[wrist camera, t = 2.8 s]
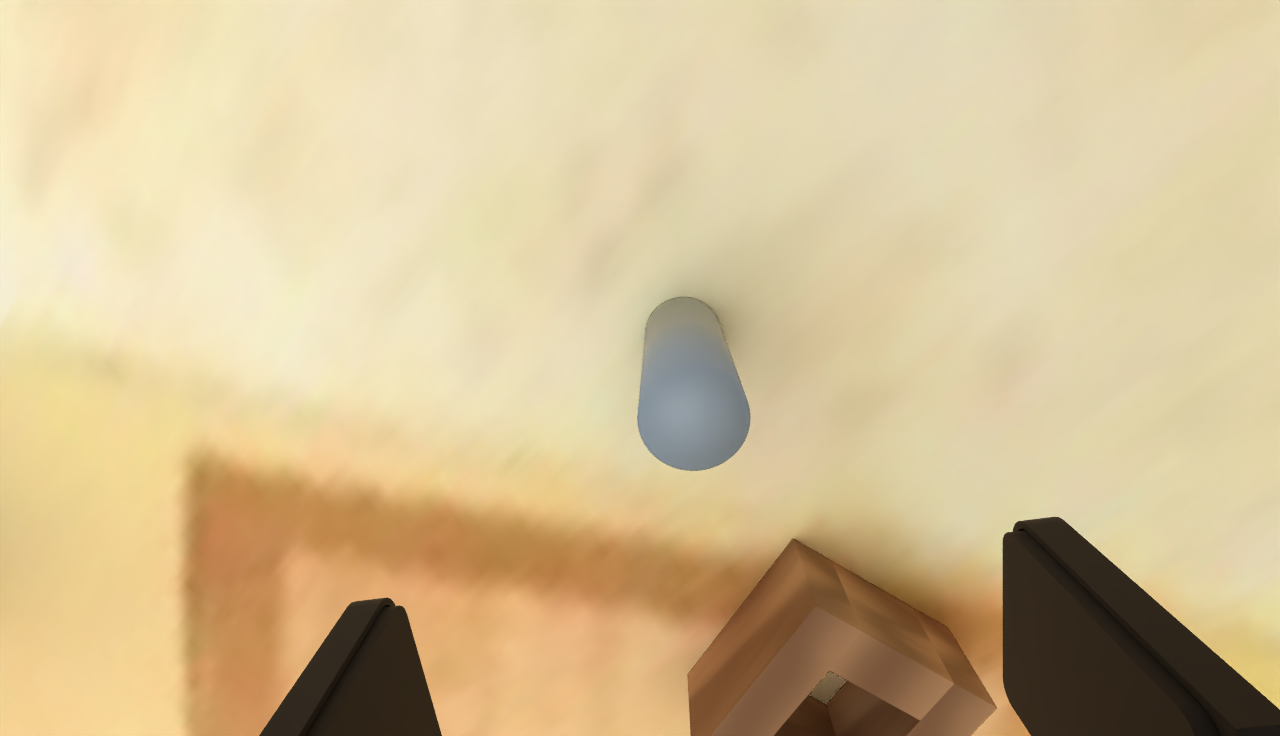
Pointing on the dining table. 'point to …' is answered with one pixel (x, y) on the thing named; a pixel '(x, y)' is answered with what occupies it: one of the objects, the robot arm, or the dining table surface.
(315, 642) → the dining table surface
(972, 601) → the dining table surface
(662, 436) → the peg
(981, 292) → the dining table surface
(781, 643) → the box with hole
